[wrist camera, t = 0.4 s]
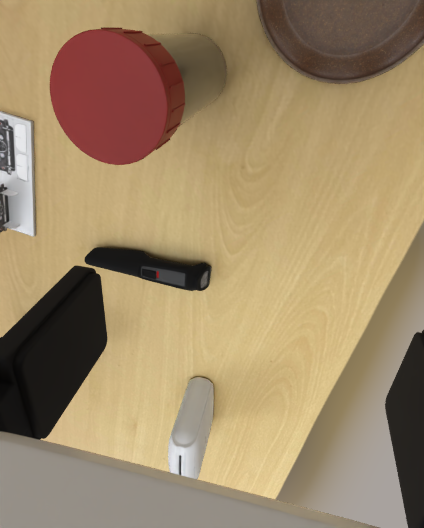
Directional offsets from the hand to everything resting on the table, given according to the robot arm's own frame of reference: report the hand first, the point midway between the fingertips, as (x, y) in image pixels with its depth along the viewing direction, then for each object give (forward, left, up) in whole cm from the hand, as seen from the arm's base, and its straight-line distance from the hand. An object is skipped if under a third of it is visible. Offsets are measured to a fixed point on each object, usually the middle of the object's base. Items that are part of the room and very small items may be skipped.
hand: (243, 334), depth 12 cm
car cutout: (+12, -32, -31) cm, 46 cm away
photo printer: (+43, -4, -31) cm, 53 cm away
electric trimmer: (+20, -13, -31) cm, 39 cm away
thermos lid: (-3, -10, -16) cm, 19 cm away
